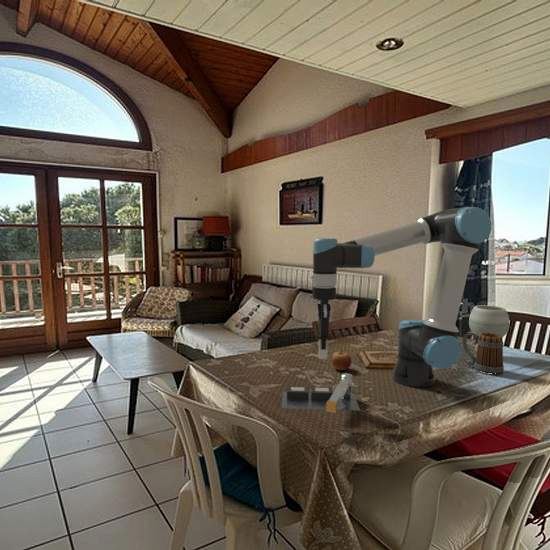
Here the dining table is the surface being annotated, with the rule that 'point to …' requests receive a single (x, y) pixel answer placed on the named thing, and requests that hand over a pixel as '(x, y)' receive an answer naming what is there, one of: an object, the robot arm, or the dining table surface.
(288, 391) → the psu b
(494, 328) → the planter
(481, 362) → the mug
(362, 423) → the dining table surface
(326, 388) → the power supply
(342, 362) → the apple
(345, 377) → the cable arm
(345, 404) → the chassis
